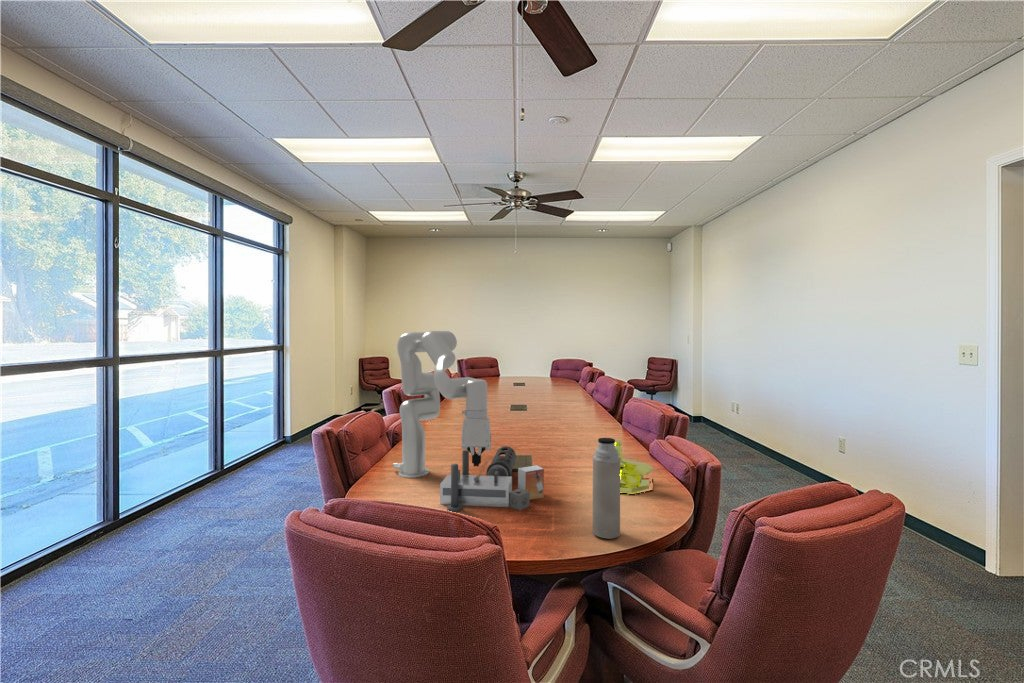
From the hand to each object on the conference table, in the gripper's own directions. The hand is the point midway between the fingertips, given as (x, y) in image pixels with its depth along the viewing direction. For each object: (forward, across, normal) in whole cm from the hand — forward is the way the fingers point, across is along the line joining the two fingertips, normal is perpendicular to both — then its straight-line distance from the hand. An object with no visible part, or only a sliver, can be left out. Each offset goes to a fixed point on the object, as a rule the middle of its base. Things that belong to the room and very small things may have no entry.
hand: (476, 465), depth 156 cm
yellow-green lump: (+13, +57, +23) cm, 63 cm away
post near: (+12, -6, -9) cm, 16 cm away
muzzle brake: (+13, +6, +24) cm, 28 cm away
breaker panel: (+12, 0, 0) cm, 12 cm away
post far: (+12, -6, +9) cm, 16 cm away
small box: (+13, +19, +5) cm, 24 cm away
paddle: (+4, 0, 0) cm, 4 cm away
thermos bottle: (+12, +43, -22) cm, 50 cm away
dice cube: (+13, +16, -5) cm, 21 cm away
